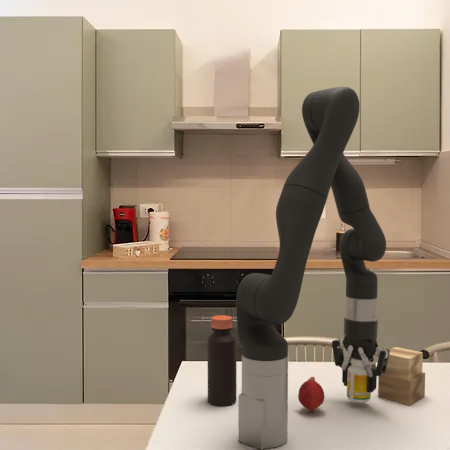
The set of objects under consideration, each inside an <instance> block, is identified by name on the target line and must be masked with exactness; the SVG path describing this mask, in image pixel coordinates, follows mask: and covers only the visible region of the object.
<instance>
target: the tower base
mask: <svg viewBox="0 0 450 450" xmlns="http://www.w3.org/2000/svg"><path fill="white" fill-rule="evenodd" d="M377 379H378V381H377V383H378V384H377V386H378V388H377V393H378V394H377V398H378V397H379V399H382V400H385V399H386V401H389V400H390V402H393V403H396V402H397V404H401V405H404V406H408V407H410V406H413V404H415V403H417V402H419V401H420V400H422V399H424V398H425V395H426V393H425V392H426V372H423V371H422V373H421V374H419V375H417V376H416V377H414V378H412V379H410V380H406V379H402V378H398V377H394V376H390V375H386V374H382V375H380V376H377Z"/></svg>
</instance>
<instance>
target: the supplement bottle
mask: <svg viewBox="0 0 450 450" xmlns="http://www.w3.org/2000/svg"><path fill="white" fill-rule="evenodd" d="M368 361H369V360H368ZM351 364H352V365H351V366H349V367H348V372H347V386H346V398H347V399H348V400H349V401H350V402H353V403H360V404H361V403H362V404H363V403H367V402H369V401H370V400H371V394H372V392H371V393H369V392H367V377H368V376H369V375H368V373H367V369H366V367H364V364H363V361H362V360H359V359H354V358H351Z"/></svg>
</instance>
